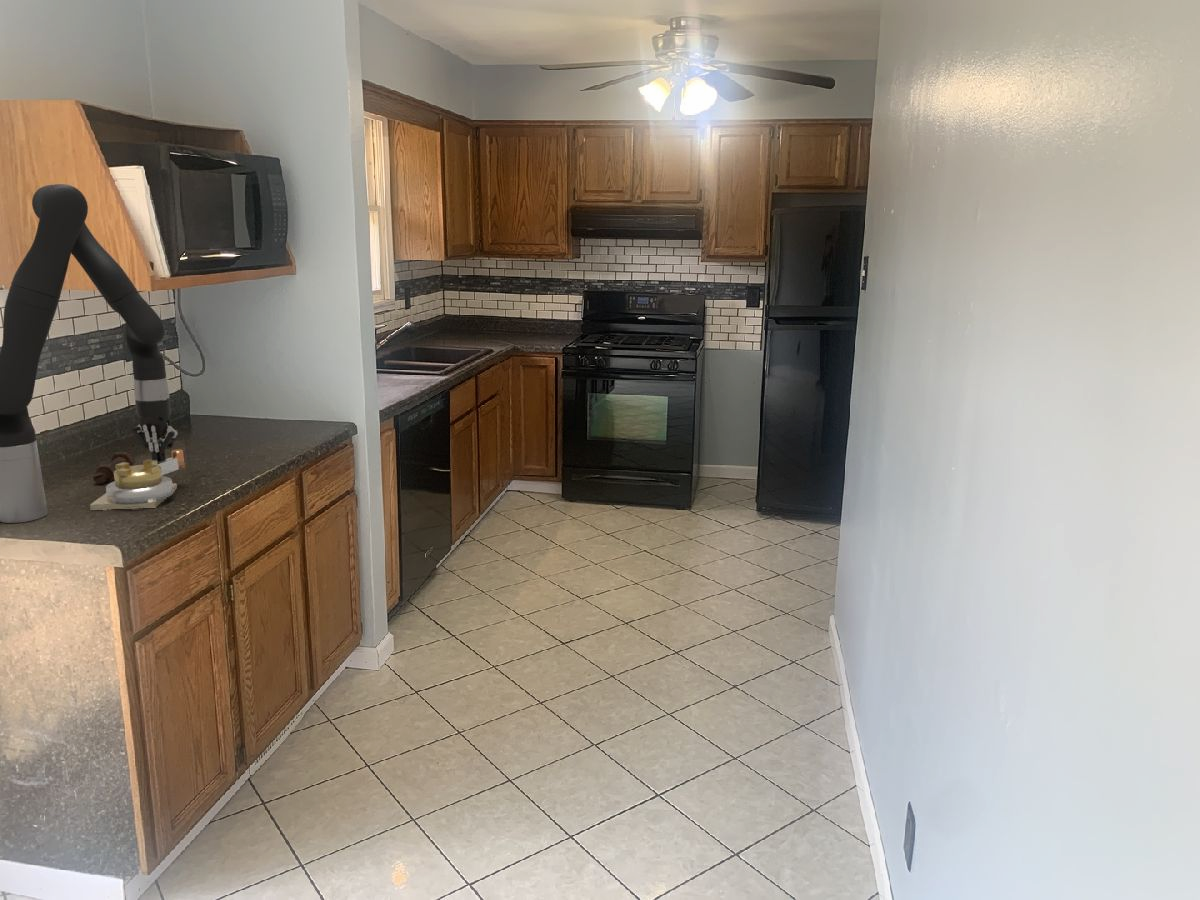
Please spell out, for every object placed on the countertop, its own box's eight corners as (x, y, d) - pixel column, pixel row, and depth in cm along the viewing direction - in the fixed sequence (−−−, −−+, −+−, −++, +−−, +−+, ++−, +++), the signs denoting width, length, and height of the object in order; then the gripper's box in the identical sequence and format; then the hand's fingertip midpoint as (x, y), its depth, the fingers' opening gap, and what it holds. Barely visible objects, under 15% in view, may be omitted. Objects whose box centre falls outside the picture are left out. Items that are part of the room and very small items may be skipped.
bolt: (97, 492, 227) (122, 474, 241) (114, 483, 226) (138, 465, 241) (82, 474, 225) (108, 457, 239) (99, 464, 225) (124, 447, 239)
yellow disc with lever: (141, 490, 206) (139, 471, 205) (104, 486, 208) (102, 468, 207) (199, 468, 224) (198, 451, 223) (165, 465, 227) (163, 448, 226)
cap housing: (89, 512, 205) (86, 493, 204) (117, 490, 221) (115, 473, 220) (162, 509, 207) (160, 491, 206) (185, 488, 223) (183, 471, 222)
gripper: (118, 397, 216) (126, 466, 220) (162, 401, 212) (169, 472, 216) (142, 392, 223) (150, 459, 227) (185, 396, 219) (192, 464, 223)
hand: (159, 465), depth 221 cm, fingers closed
